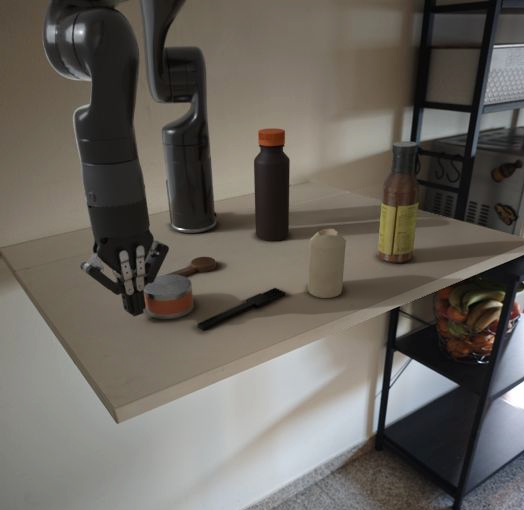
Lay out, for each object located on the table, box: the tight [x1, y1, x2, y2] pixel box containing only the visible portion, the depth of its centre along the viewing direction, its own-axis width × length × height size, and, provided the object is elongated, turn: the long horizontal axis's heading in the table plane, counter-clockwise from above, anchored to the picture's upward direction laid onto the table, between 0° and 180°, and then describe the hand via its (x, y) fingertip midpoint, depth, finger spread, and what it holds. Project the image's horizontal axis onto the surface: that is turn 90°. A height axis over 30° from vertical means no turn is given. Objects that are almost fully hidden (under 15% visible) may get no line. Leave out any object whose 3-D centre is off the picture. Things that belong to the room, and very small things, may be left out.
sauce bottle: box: [377, 140, 420, 264], centre depth 86 cm, size 6×6×20 cm
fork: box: [196, 287, 286, 332], centre depth 76 cm, size 16×3×1 cm, turn 133°
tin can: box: [144, 274, 195, 320], centre depth 76 cm, size 7×7×4 cm
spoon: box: [165, 256, 217, 277], centre depth 86 cm, size 16×4×1 cm, turn 133°
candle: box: [307, 228, 347, 299], centre depth 78 cm, size 6×6×10 cm
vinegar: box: [253, 127, 291, 242], centre depth 97 cm, size 7×7×20 cm
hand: (135, 313), depth 73 cm, fingers closed
